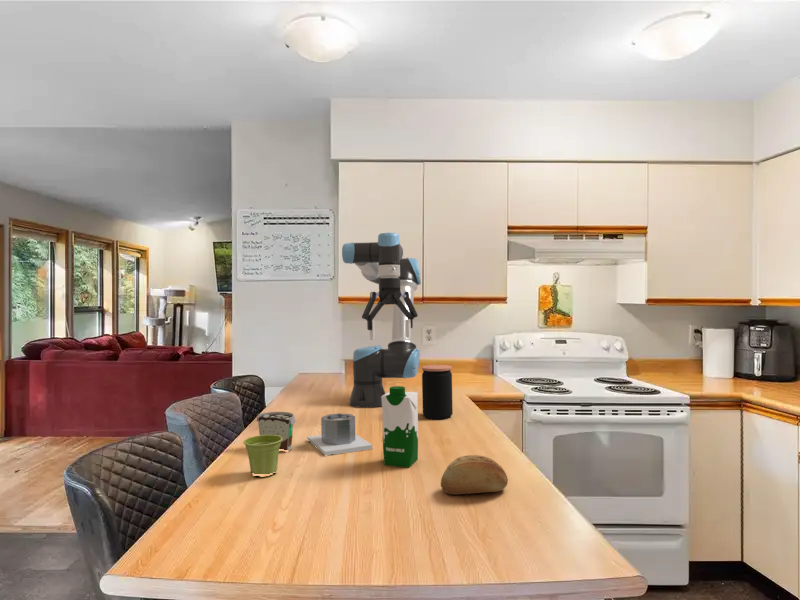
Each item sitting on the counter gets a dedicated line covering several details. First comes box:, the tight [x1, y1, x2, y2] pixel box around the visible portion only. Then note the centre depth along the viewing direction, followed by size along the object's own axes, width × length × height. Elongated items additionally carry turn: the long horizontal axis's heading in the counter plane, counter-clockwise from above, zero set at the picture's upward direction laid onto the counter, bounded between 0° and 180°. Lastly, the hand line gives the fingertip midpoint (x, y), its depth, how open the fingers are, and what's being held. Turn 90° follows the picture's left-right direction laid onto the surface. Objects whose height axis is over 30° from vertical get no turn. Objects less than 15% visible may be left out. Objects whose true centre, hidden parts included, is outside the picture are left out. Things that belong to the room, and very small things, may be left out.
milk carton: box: [381, 385, 419, 468], centre depth 140 cm, size 9×9×20 cm
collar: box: [320, 412, 356, 445], centre depth 158 cm, size 9×9×7 cm
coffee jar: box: [421, 364, 454, 421], centre depth 192 cm, size 11×11×18 cm
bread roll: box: [440, 454, 509, 495], centre depth 118 cm, size 10×15×8 cm, turn 96°
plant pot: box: [243, 434, 282, 474], centre depth 133 cm, size 9×9×9 cm
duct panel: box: [306, 419, 373, 456], centre depth 158 cm, size 18×14×7 cm
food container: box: [256, 411, 296, 450], centre depth 156 cm, size 12×6×10 cm, turn 65°
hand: (390, 338), depth 186 cm, fingers open, 13 cm apart
